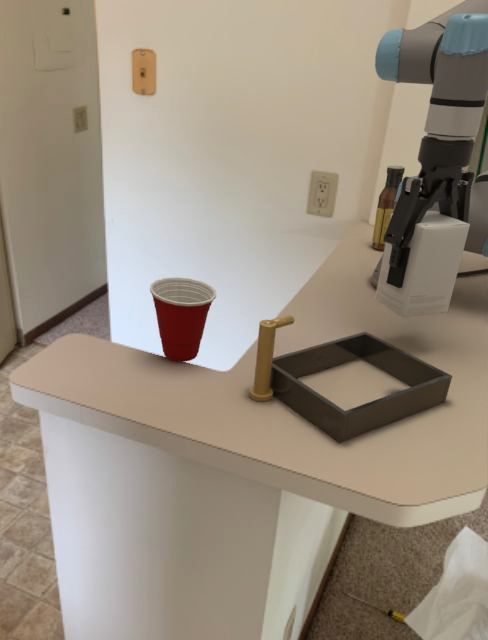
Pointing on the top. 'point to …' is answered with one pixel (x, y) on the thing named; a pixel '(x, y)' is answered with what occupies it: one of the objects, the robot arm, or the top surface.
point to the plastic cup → (181, 315)
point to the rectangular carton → (426, 267)
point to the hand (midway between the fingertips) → (416, 279)
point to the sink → (327, 416)
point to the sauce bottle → (386, 205)
